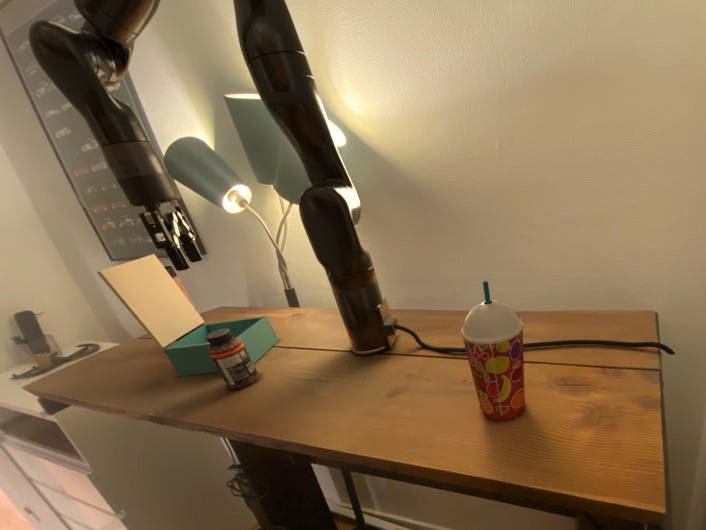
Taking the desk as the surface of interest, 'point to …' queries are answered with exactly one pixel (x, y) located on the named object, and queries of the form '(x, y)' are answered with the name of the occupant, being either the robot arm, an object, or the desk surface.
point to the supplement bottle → (231, 359)
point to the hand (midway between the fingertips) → (191, 265)
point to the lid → (152, 298)
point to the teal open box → (193, 347)
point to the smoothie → (495, 356)
